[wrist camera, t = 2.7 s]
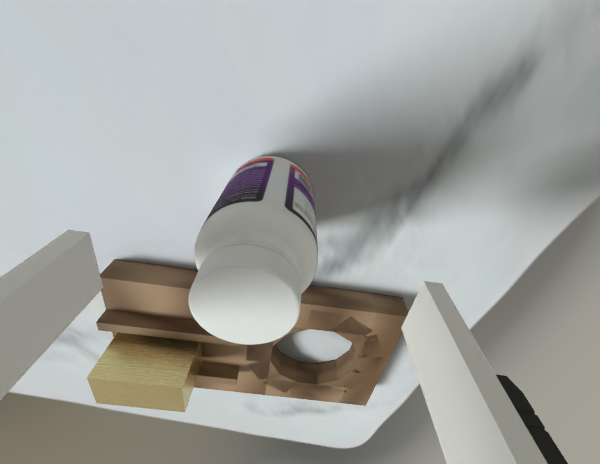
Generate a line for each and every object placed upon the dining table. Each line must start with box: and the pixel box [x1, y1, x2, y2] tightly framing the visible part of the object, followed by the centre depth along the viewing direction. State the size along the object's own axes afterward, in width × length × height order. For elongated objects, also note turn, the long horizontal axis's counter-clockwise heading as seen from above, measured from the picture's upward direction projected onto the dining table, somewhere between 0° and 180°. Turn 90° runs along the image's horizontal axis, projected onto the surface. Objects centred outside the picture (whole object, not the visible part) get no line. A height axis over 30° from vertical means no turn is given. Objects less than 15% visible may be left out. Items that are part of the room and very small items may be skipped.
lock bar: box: [87, 332, 202, 412], centre depth 21 cm, size 6×3×4 cm, turn 81°
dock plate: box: [96, 260, 408, 406], centre depth 24 cm, size 22×12×3 cm, turn 81°
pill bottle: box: [188, 156, 318, 345], centre depth 14 cm, size 5×5×10 cm
